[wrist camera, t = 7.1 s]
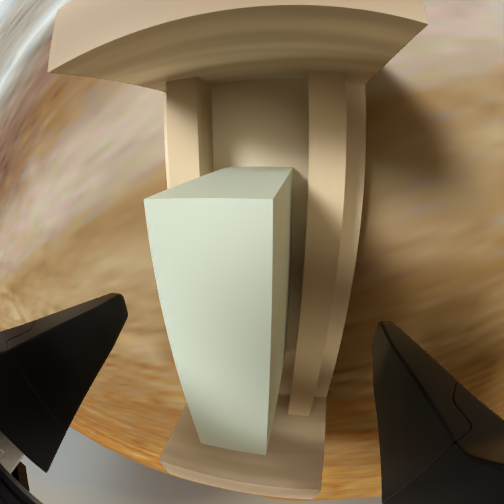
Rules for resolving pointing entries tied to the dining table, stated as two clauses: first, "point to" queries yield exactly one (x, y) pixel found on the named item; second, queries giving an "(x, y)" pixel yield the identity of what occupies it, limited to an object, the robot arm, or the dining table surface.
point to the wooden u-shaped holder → (260, 154)
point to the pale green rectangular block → (226, 296)
